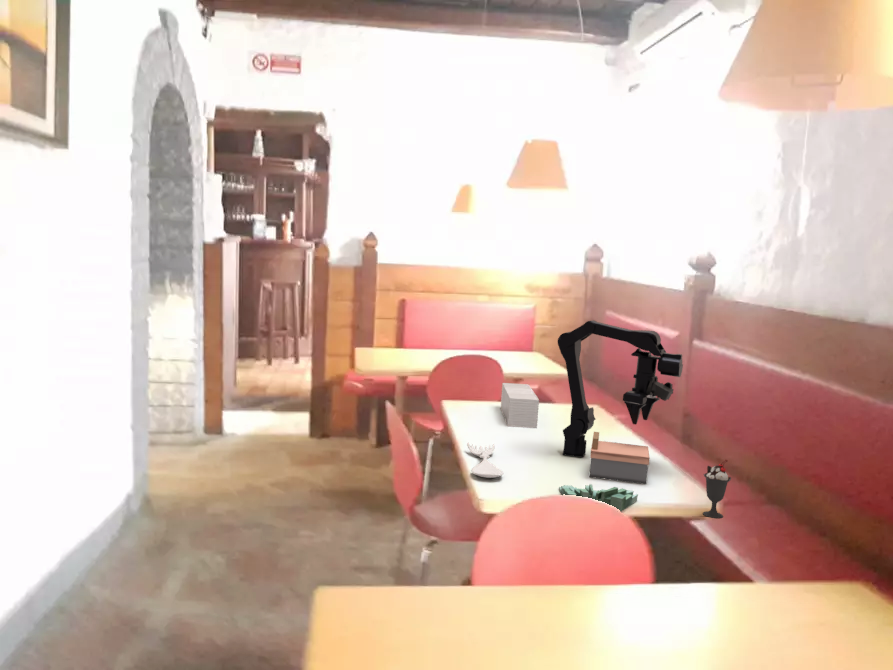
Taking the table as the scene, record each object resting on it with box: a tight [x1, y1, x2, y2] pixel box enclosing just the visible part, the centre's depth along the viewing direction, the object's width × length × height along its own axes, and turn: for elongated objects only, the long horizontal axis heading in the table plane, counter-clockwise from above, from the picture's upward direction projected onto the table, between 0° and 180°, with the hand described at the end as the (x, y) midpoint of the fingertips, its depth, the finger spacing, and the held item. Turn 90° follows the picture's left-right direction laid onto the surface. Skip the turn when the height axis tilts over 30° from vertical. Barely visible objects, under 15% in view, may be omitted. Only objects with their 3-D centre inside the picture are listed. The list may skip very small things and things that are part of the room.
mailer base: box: [589, 458, 649, 485], centre depth 229 cm, size 16×12×7 cm
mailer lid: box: [589, 431, 651, 466], centre depth 229 cm, size 16×14×5 cm
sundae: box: [702, 459, 732, 520], centre depth 198 cm, size 7×7×15 cm
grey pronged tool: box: [466, 442, 504, 479], centre depth 230 cm, size 9×32×3 cm, turn 2°
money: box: [558, 483, 639, 512], centre depth 204 cm, size 20×16×5 cm
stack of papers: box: [500, 382, 540, 429], centre depth 299 cm, size 32×11×11 cm, turn 1°
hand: (640, 422), depth 240 cm, fingers open, 9 cm apart
